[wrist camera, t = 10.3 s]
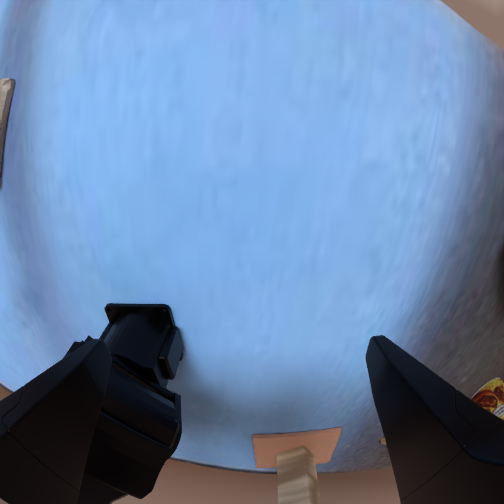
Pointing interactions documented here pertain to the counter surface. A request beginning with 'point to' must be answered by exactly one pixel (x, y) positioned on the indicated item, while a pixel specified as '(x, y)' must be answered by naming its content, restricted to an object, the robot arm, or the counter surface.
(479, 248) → the counter surface
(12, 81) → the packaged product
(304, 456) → the tall wooden block
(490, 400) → the canned food
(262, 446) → the tile
